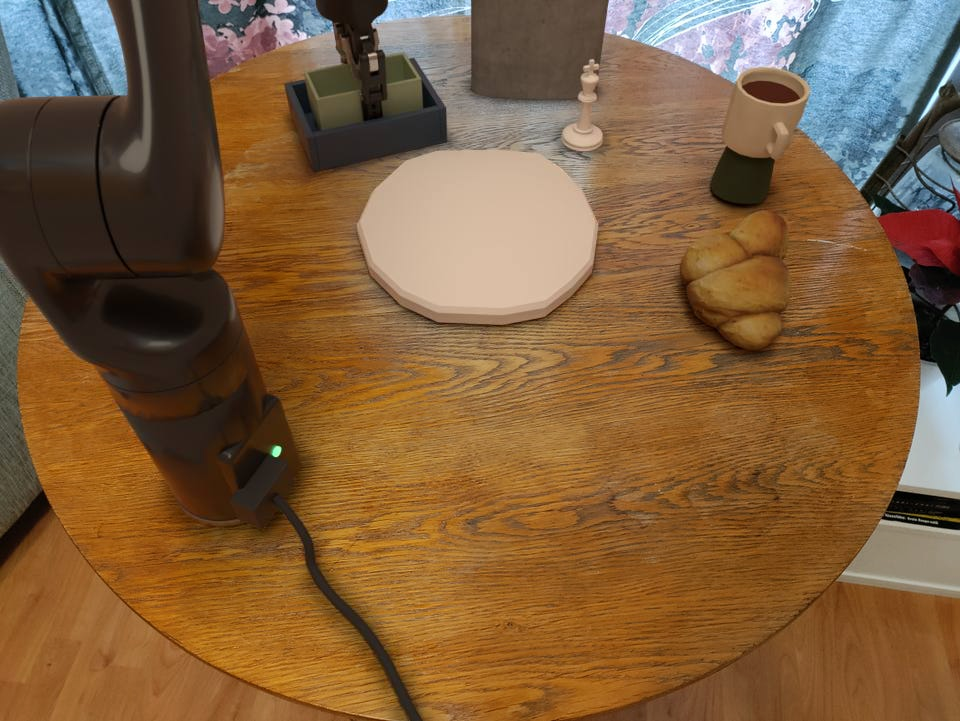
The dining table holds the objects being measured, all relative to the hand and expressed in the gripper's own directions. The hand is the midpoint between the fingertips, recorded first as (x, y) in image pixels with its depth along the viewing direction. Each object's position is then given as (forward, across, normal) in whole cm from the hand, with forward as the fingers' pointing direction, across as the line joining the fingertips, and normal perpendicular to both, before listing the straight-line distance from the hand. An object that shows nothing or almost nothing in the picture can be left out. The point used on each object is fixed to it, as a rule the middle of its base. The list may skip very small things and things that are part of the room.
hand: (365, 109), depth 89 cm
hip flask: (+3, 0, +22) cm, 22 cm away
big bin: (+3, 0, 0) cm, 3 cm away
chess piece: (+3, +11, +23) cm, 26 cm away
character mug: (+3, +26, +35) cm, 44 cm away
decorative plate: (+3, +23, +5) cm, 23 cm away
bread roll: (+3, +41, +24) cm, 47 cm away
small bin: (+1, 0, 0) cm, 1 cm away
